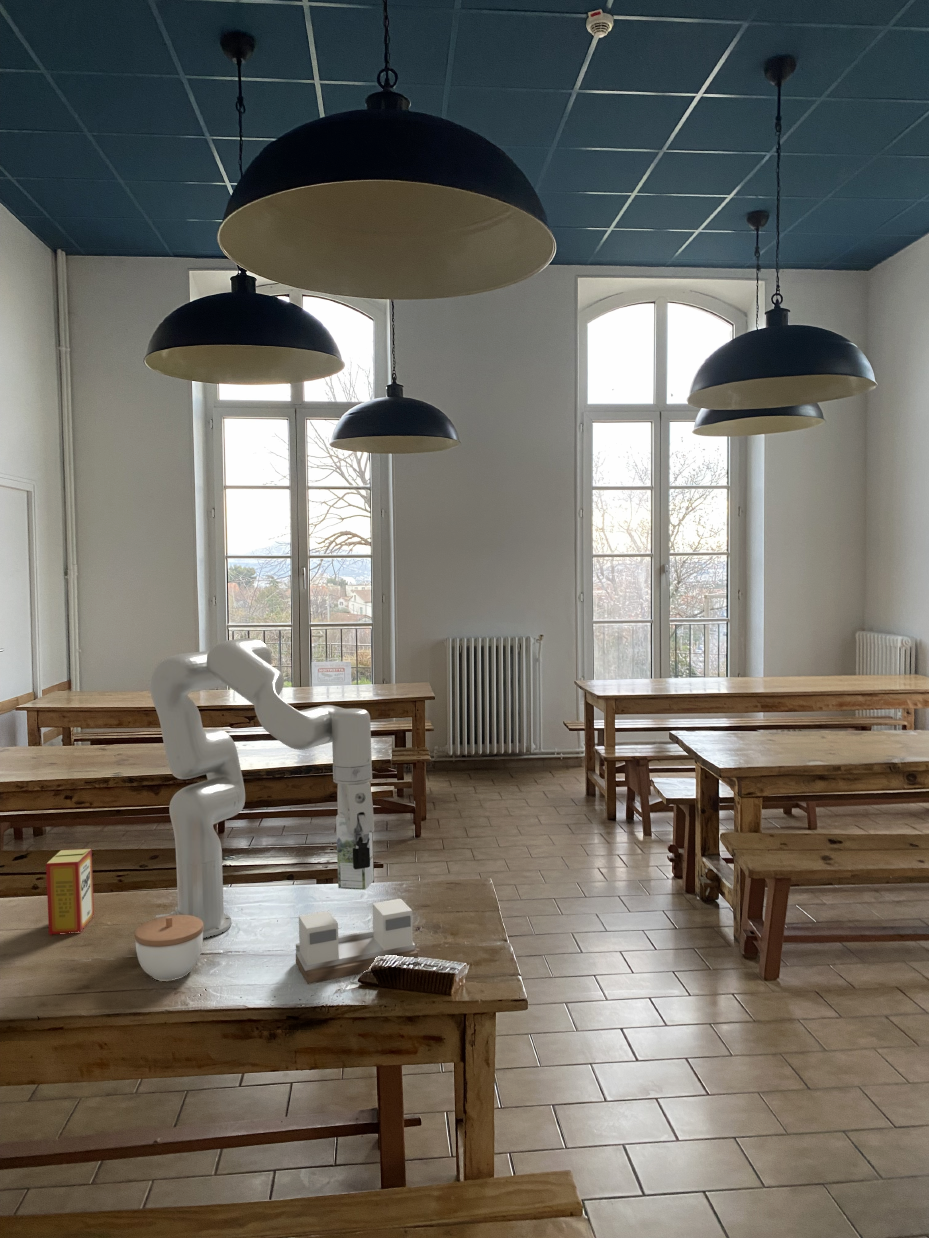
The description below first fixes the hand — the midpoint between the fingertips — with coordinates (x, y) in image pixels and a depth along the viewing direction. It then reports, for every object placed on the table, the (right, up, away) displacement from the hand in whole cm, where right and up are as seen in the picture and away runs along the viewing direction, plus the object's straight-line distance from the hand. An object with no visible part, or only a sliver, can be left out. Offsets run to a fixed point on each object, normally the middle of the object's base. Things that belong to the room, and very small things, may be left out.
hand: (355, 861), depth 173 cm
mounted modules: (0, -17, +1) cm, 17 cm away
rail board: (0, -20, +1) cm, 20 cm away
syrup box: (0, -5, 0) cm, 5 cm away
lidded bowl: (-35, -21, -2) cm, 41 cm away
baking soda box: (-65, -21, +22) cm, 72 cm away
